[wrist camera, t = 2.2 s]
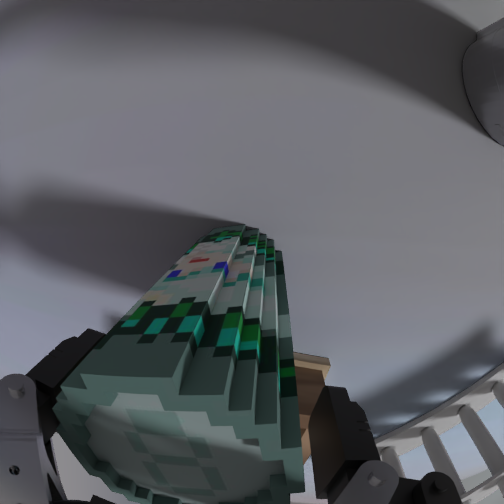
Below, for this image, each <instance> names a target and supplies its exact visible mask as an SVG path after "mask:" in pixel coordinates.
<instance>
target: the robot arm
mask: <svg viewBox="0 0 504 504" xmlns="http://www.w3.org/2000/svg"><path fill="white" fill-rule="evenodd" d="M462 71H463V80H464V85H465V89H466V93H467V96H468V99H469V101H470V104H471V106H472V108H473V110H474V112H475V114H476V116H477V118H478V120H479V121H480V123H481V124H482V126H483V127H484V129H485V130H486V131H487V132H488V133H489V134H490V136H491V137H492V138H493V139H495V140H496V141H497V142H498V143H500V144H501V145H503V146H504V18H502V19H500V20H498V21H497V22H495V23H493V24H491V25H489V26H488V27H486V28H484V29H482V30H480V31H479V32H477V41H476V42H475V43H473V44H472V45H470V46H469V47H468V49H467V50H466V52H465V55H464V59H463V69H462ZM105 336H106V334H104V333H101V332H98V331H95V330H92V329H87V330H86V331H85V332H83V333H82V334H81V335H80V336H79V337H78V338H77V337H75V336H74V337H71V338H69V339H66V340H64V341H62V342H61V343H60V344H59V345H58V346H57V347H55V350H54V349H53V350H52V351H51V352H50V353H49V355H47V356H45V357H44V358H43V359H42V360H41V361H40V362H39V363H38V364H37V365H36V366H35V367H34V368H32V369H31V370H30V371H29V372H28V373H27V374H26V375H23V374H10V375H7V376H5V377H4V378H2V379H1V380H0V504H115V503H112V502H110V501H107V500H105V499H103V498H100V497H98V496H95V495H93V497H92V499H91V501H90V502H88V501H81V500H68V499H67V497H66V494H65V492H64V489H63V486H62V483H61V480H60V476H59V471H58V467H57V462H56V458H55V453H54V447H53V443H52V438H51V437H52V436H53V434H54V433H55V432H57V430H56V428H57V427H58V426H59V424H60V421H59V419H58V418H57V416H56V415H55V413H54V411H53V410H52V408H53V407H54V405H55V404H56V403H57V402H58V401H57V399H56V397H57V396H58V395H59V393H60V392H61V391H62V388H61V387H60V385H61V384H62V383H63V382H64V381H65V380H66V379H67V377H68V376H69V375H70V374H71V373H72V372H73V371H74V370H75V368H76V367H77V366H78V365H79V364H80V363H81V362H82V361H83V360H84V358H85V357H86V356H87V355H88V354H89V353H90V352H91V351H92V350H93V349H94V347H95V346H96V345H97V344H98V343H99V342H100V341H101V340H102V339H103V338H104V337H105ZM367 422H368V421H367V418H366V415H365V412H364V410H363V409H362V408H361V407H360V406H359V405H358V404H357V403H356V402H351V401H350V399H349V396H348V393H347V390H346V388H343V387H334V386H324V387H323V389H322V391H321V393H320V395H319V398H318V400H317V402H316V404H315V407H314V409H313V411H312V413H311V415H310V419H309V424H308V432H309V440H310V448H311V456H312V465H313V473H314V482H315V491H316V499H328V504H462V501H461V498H460V496H459V493H458V491H457V488H456V486H455V483H454V481H453V480H452V479H451V478H450V477H449V476H448V475H446V474H444V473H442V472H430V473H428V474H426V475H425V476H424V477H423V478H422V479H421V480H413V479H407V478H402V477H399V476H398V473H397V471H396V470H395V469H394V468H393V467H392V466H391V465H389V464H388V463H385V462H383V461H381V458H380V455H379V452H378V449H377V447H376V444H375V441H374V438H373V435H372V432H370V430H371V429H370V426H369V423H367ZM57 433H58V432H57Z"/></svg>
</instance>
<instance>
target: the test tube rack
mask: <svg viewBox="0 0 504 504" xmlns="http://www.w3.org/2000/svg"><path fill="white" fill-rule="evenodd" d="M494 399H497V400H498V402H499V403H500V404H501V405H502V407H503V408H504V362H503V363H502V364H501V365H499V366H498V367H497V368H495V369H494V370H493V371H491V372H490V373H489V374H487V375H486V376H485V377H483V378H482V379H480V380H479V381H477V382H476V383H475V384H473V385H472V386H470V387H469V388H467V389H466V390H464V391H463V392H461V393H460V394H458V395H456V396H455V397H453V398H452V399H450V400H448V401H447V402H445V403H444V404H442V405H440V406H438V407H437V408H435V409H433V410H432V411H430V412H428V413H426V414H424V415H423V416H421V417H419V418H417V419H415V420H413V421H411V422H409V423H407V424H406V425H404V426H402V427H400V428H398V429H395V430H393V431H391V432H389V433H387V434H385V435H383V436H381V437H378V438H376V439H374V441H375V444H376V447H377V449H378V452H379V455H380V458H381V461H383V462H385V463H388V464H389V465H391V466H392V467H393V468H394V469H395V470H396V471H397V473H398V476H399V477H402V478H406V476H405V474H404V471H403V468H402V465H401V462H400V460H399V457H398V456H400V455H402V454H405V453H407V452H409V451H411V450H413V449H415V448H417V447H419V446H421V445H422V444H424V446H425V449H426V451H427V453H428V456H429V458H430V460H431V462H432V465H433V467H434V469H435V472H442V473H444V474H446V475H448V476H449V477H450V478H451V479H452V480H453V481H454V483H455V486H456V488H457V491H458V493H459V496H460V498H461V501H462V504H476V503H477V502H479V501H481V500H482V499H484V498H485V497H487V496H488V495H490V494H492V493H493V492H495V491H496V490H498V489H500V491H501V493H502V494H503V498H504V455H503V453H502V451H501V450H500V448H499V447H498V445H497V444H496V442H495V440H494V439H493V437H492V436H491V434H490V433H489V431H488V430H487V428H486V427H485V425H484V424H483V422H482V421H481V419H480V418H479V416H478V415H477V413H476V412H478V411H479V410H480V409H482V408H483V407H485V406H486V405H488V404H489V403H490V402H492V401H493V400H494ZM461 422H462V423H463V425H464V427H465V428H466V430H467V432H468V433H469V435H470V437H471V438H472V440H473V442H474V443H475V445H476V447H477V449H478V450H479V452H480V454H481V456H482V457H483V459H484V461H485V463H486V464H487V466H488V468H489V470H490V472H491V474H492V475H493V476H492V477H490V478H489V479H487V480H486V481H484V482H483V483H481V484H480V485H478V486H476V487H475V488H473V489H472V490H470V491H468V492H466V491H465V489H464V487H463V485H462V482H461V480H460V478H459V476H458V474H457V472H456V470H455V468H454V465H453V463H452V461H451V459H450V457H449V455H448V453H447V451H446V449H445V447H444V445H443V443H442V441H441V439H440V437H439V435H441V434H442V433H444V432H446V431H448V430H449V429H451V428H453V427H454V426H456V425H458V424H459V423H461Z"/></svg>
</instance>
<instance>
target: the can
mask: <svg viewBox="0 0 504 504" xmlns="http://www.w3.org/2000/svg"><path fill="white" fill-rule="evenodd" d="M60 387H61V388H62V391H61V392H60V393H59V395H58V396H57V397H56V399H57V401H58V402H57V403H56V404H55V405H54V407H53V408H52V410H53V411H54V413H55V415H56V416H57V418H58V419H59V421H60V424H59V426H58V427H57V428H56V430H57V432H58V433H59V435H60V436H61V437H62V439H63V440H64V442H65V443H66V445H67V446H68V447H69V449H70V450H71V452H72V453H73V454H74V455H75V457H76V458H77V459H78V461H79V462H80V463H81V464H82V466H83V467H84V468H85V470H86V471H87V472H88V473H89V474H90V475H93V476H96V477H100V478H101V479H102V480H103V482H104V483H105V484H106V485H107V486H108V487H109V489H110V490H111V491H112V492H116V493H120V494H123V495H124V496H125V497H126V498H127V499H128V500H129V501H133V502H138V503H141V504H290V493H301V492H305V482H304V468H303V454H302V441H301V429H300V417H299V406H298V395H297V384H296V374H295V364H294V354H293V344H292V335H291V326H290V317H289V308H288V299H287V291H286V283H285V274H284V266H283V258H282V251H280V252H275V247H274V240H268V241H267V236H266V234H265V235H260V233H259V229H254V230H247V231H246V227H245V224H243V225H236V226H229V227H222V228H215V229H213V230H212V231H211V232H210V233H209V234H208V235H207V236H204V237H202V238H201V239H200V240H199V241H197V242H196V243H195V244H194V245H193V246H192V247H191V248H190V249H189V250H188V251H187V252H186V253H185V254H184V255H183V256H182V257H181V258H180V259H179V260H178V261H177V262H176V263H175V264H174V265H173V266H172V267H171V268H170V269H169V270H168V271H167V272H166V273H165V274H164V275H163V276H162V277H161V278H160V279H159V280H158V281H157V282H156V283H155V284H154V285H153V286H152V287H151V288H150V289H149V290H148V291H147V292H146V293H145V294H144V296H143V297H142V298H141V299H140V300H139V301H138V302H137V303H136V304H135V305H134V306H133V307H132V308H131V309H130V310H129V311H128V312H127V313H126V314H125V315H124V316H123V317H122V318H121V320H120V321H119V322H118V323H117V324H116V325H115V326H114V327H113V328H112V329H111V330H110V331H109V332H108V333H107V334H106V336H105V337H104V338H103V339H102V340H101V341H100V342H99V343H98V344H97V345H96V346H95V347H94V349H93V350H92V351H91V352H90V353H89V354H88V355H87V356H86V357H85V358H84V360H83V361H82V362H81V363H80V364H79V365H78V366H77V367H76V368H75V370H74V371H73V372H72V373H71V374H70V375H69V376H68V377H67V379H66V380H65V381H64V382H63V383H62V384H61V385H60Z"/></svg>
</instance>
